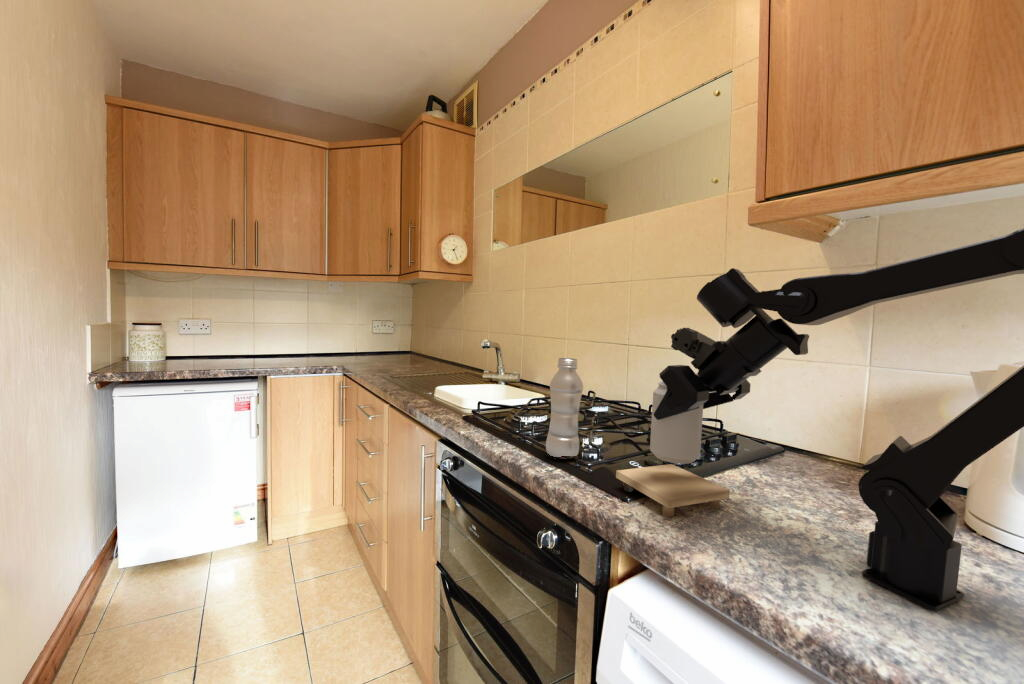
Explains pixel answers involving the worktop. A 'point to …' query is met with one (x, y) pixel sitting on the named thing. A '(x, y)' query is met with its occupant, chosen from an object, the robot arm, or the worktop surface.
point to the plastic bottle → (564, 410)
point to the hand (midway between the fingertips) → (668, 414)
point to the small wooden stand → (673, 486)
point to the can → (675, 433)
